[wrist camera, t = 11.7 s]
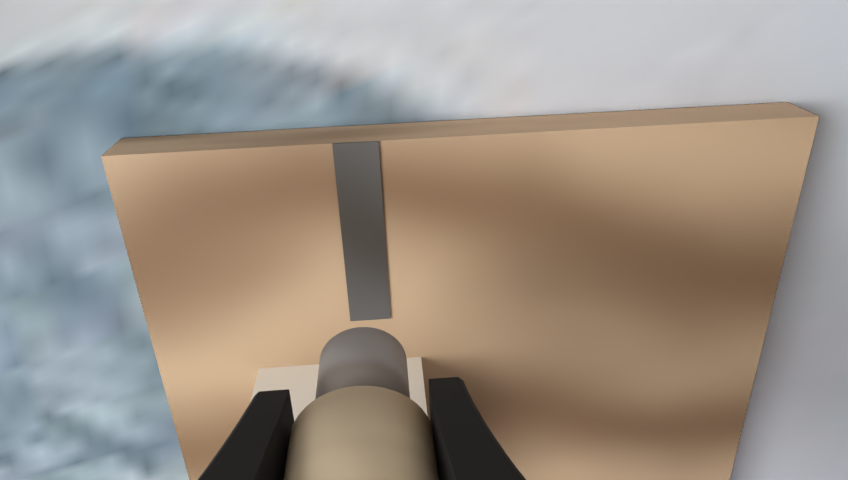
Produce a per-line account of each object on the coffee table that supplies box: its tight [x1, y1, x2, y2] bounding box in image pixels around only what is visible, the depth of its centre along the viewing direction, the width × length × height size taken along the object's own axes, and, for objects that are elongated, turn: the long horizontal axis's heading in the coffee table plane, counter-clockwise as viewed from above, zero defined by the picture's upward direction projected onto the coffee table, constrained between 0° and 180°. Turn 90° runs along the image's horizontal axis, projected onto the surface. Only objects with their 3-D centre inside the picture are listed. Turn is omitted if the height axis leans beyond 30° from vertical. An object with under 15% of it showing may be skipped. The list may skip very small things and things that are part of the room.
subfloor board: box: [101, 102, 819, 480], centre depth 22 cm, size 20×19×2 cm
